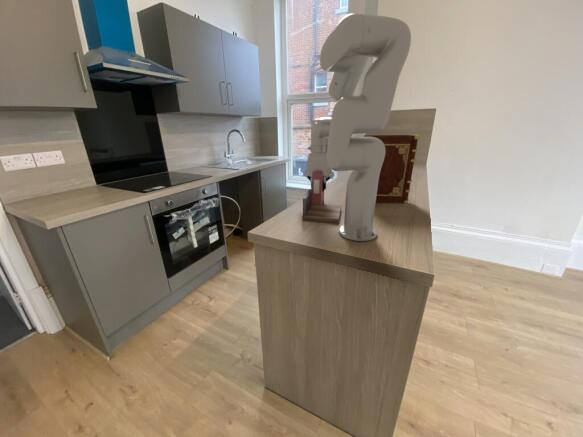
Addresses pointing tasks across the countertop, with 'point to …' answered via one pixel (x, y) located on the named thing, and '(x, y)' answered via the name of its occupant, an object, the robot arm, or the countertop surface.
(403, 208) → the countertop surface
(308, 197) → the bookend
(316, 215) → the shelf board
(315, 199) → the slim book
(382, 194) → the decorative book
